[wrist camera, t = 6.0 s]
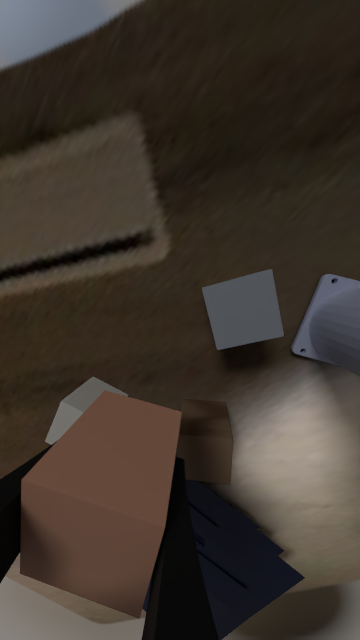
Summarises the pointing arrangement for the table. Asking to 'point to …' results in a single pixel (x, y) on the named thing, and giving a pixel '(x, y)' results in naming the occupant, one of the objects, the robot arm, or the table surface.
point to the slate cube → (243, 310)
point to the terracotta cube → (101, 502)
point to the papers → (234, 560)
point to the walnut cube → (205, 441)
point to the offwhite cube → (77, 406)
